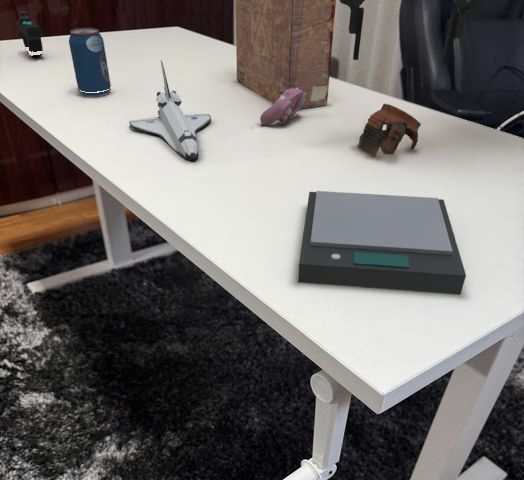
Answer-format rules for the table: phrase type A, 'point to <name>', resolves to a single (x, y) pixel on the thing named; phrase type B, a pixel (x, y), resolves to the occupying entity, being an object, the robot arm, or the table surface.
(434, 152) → the table surface
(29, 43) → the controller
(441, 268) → the scale
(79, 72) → the soda can
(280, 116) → the video game controller
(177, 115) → the space shuttle model
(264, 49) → the book
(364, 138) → the brown hollow arched part
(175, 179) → the table surface
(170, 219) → the table surface
